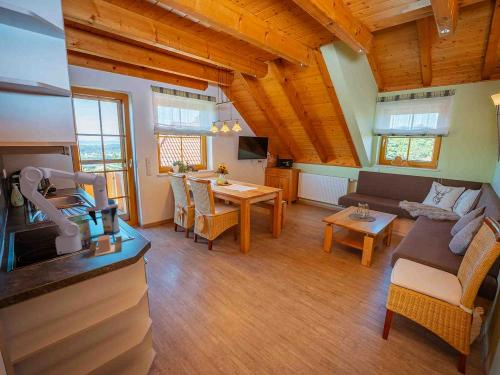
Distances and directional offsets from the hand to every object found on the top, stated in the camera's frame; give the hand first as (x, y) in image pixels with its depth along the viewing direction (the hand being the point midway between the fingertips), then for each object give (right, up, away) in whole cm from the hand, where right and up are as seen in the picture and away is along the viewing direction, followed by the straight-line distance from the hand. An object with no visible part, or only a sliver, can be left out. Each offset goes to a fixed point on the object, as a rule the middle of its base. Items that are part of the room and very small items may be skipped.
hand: (105, 223), depth 126 cm
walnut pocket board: (+4, -12, -6) cm, 14 cm away
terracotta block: (+6, -11, -10) cm, 16 cm away
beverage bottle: (-4, -8, +13) cm, 16 cm away
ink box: (-15, -10, +4) cm, 19 cm away
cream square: (+7, -11, -11) cm, 17 cm away
